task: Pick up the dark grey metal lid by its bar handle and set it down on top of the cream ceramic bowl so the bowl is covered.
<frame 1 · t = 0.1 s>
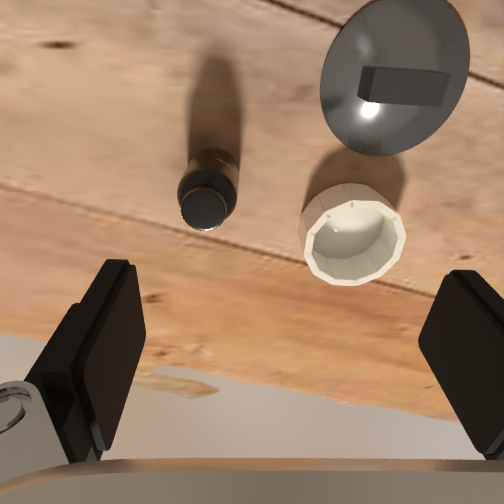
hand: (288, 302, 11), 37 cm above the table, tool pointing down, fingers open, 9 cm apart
supplement bottle: (213, 172, 47), on the table
bowl: (343, 224, 51), on the table
lid: (391, 82, 41), on the table
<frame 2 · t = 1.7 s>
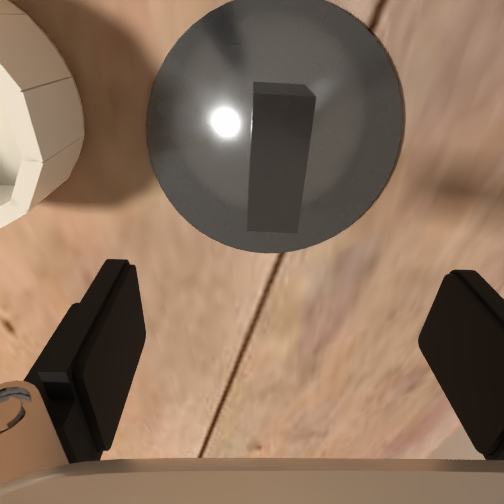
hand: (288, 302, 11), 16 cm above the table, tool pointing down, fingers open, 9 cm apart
lid: (273, 144, 24), on the table
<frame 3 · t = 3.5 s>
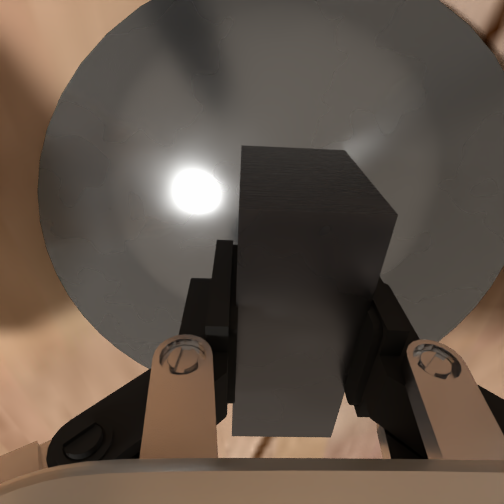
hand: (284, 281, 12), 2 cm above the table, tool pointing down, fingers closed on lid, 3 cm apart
lid: (279, 245, 14), on the table, touching gripper
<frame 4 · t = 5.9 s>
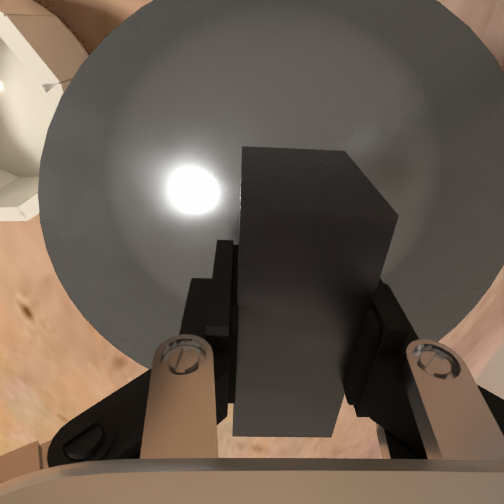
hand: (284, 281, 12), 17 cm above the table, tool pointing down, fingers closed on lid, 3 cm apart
bowl: (14, 98, 24), on the table
lid: (279, 245, 14), point 15 cm above the table, touching gripper
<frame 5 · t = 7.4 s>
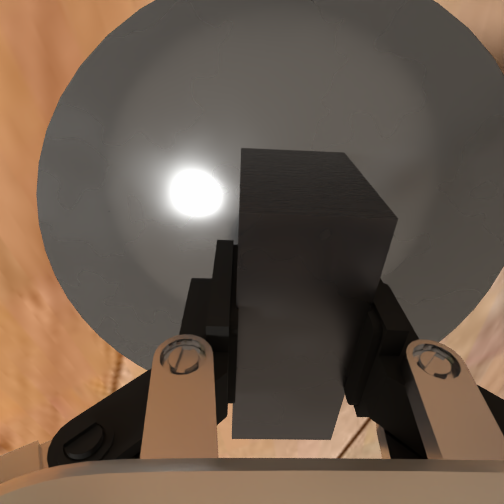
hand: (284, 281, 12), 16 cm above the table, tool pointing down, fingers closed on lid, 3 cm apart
lid: (279, 247, 14), point 14 cm above the table, touching gripper
when the fingers open (10 cm above the table, at t = 8.6 s): lid drops 2 cm, resting on bowl.
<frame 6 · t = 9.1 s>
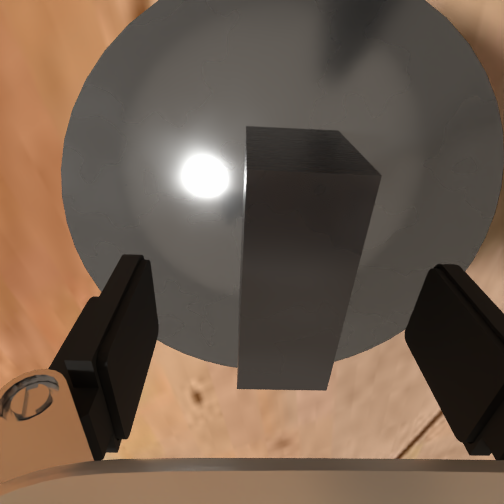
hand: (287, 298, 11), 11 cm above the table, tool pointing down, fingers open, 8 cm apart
lid: (279, 221, 15), point 6 cm above the table, touching bowl
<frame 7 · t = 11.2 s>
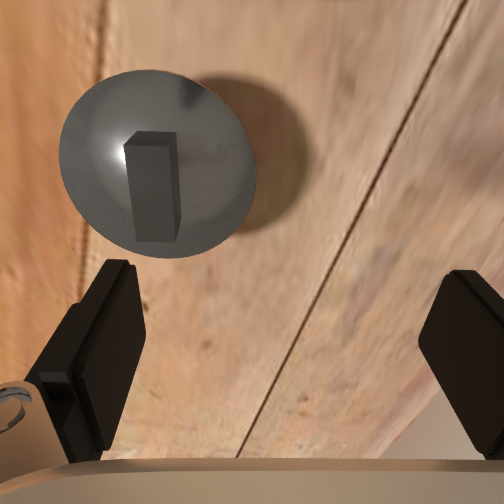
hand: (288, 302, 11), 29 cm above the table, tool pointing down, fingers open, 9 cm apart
lid: (162, 174, 32), point 6 cm above the table, touching bowl
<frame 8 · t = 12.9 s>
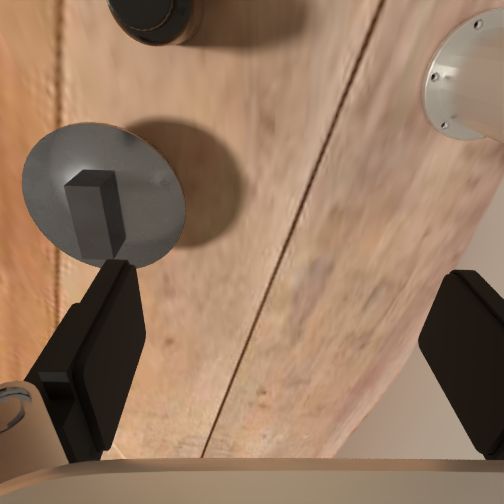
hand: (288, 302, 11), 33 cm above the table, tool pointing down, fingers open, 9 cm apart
supplement bottle: (169, 3, 34), on the table
lid: (108, 202, 38), point 6 cm above the table, touching bowl
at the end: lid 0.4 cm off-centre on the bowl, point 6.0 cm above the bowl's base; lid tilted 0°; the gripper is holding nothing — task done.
